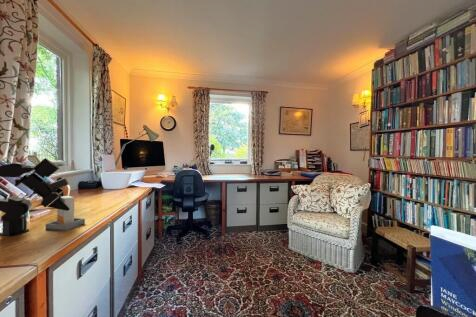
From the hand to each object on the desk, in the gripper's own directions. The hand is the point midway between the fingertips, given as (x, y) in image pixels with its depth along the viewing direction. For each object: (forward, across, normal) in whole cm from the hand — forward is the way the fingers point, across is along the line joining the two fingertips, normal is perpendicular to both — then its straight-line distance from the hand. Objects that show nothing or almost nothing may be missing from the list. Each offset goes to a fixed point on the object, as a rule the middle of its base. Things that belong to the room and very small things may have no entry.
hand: (69, 208), depth 102 cm
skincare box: (+4, 0, +6) cm, 7 cm away
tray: (+5, 0, +7) cm, 8 cm away
